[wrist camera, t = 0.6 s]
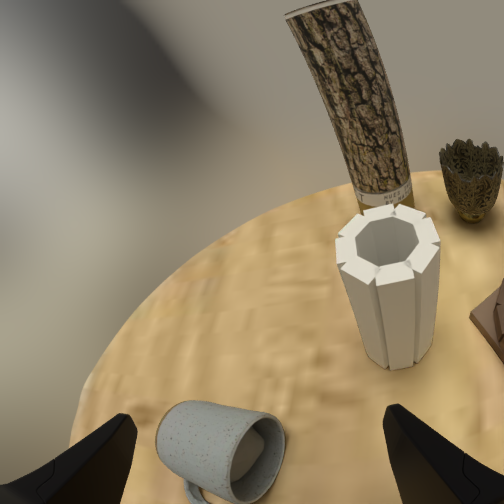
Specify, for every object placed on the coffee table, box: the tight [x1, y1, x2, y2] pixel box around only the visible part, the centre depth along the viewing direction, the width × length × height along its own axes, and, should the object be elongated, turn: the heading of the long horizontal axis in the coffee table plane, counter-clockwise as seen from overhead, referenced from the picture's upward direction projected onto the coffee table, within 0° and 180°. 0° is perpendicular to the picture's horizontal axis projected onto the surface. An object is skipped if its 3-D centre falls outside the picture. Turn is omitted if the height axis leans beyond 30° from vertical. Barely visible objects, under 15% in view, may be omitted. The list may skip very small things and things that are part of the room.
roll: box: [335, 204, 440, 370], centre depth 19 cm, size 6×6×12 cm
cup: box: [439, 139, 504, 223], centre depth 24 cm, size 8×7×8 cm
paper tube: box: [285, 0, 415, 216], centre depth 25 cm, size 7×7×25 cm
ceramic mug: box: [155, 400, 285, 504], centre depth 18 cm, size 11×8×8 cm
